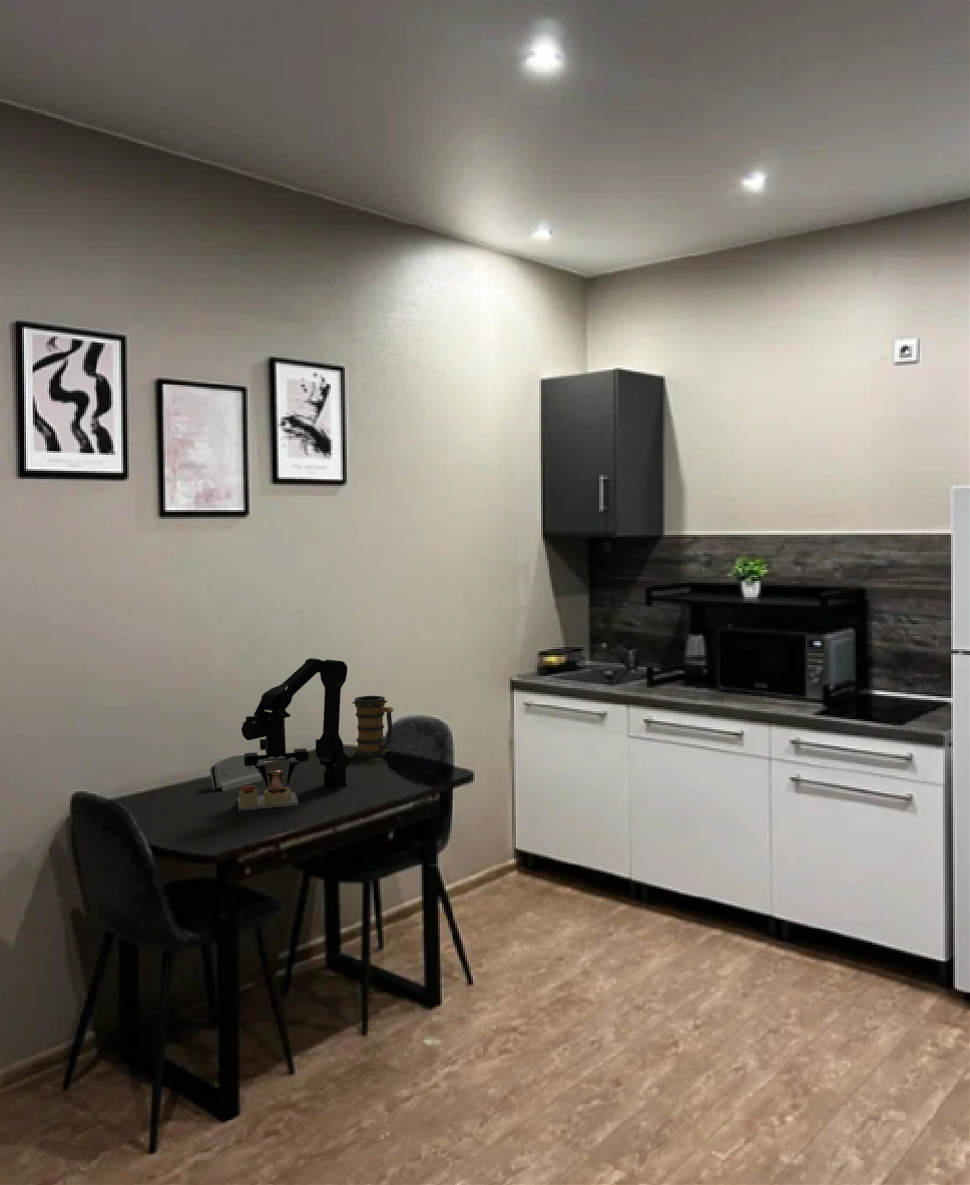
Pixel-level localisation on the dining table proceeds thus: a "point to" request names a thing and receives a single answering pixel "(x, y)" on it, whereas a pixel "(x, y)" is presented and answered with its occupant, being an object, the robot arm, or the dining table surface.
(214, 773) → the hinge
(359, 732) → the mug
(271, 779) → the pipe stub
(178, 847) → the dining table surface
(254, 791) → the panel with octagonal sockets
